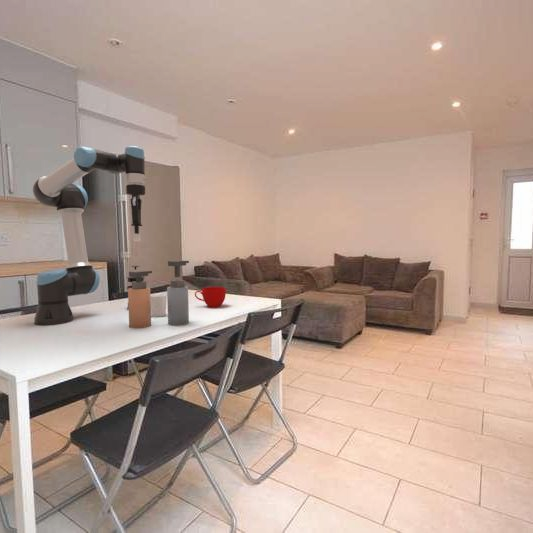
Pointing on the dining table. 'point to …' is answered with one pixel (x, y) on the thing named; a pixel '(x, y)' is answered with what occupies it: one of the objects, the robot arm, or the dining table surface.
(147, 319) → the terracotta pump bottle
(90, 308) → the dining table surface
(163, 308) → the white cup
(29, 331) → the dining table surface
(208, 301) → the ceramic cup
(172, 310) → the slate pump bottle
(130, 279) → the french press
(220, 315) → the dining table surface
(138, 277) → the grey dispenser pump
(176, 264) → the slate pump head
